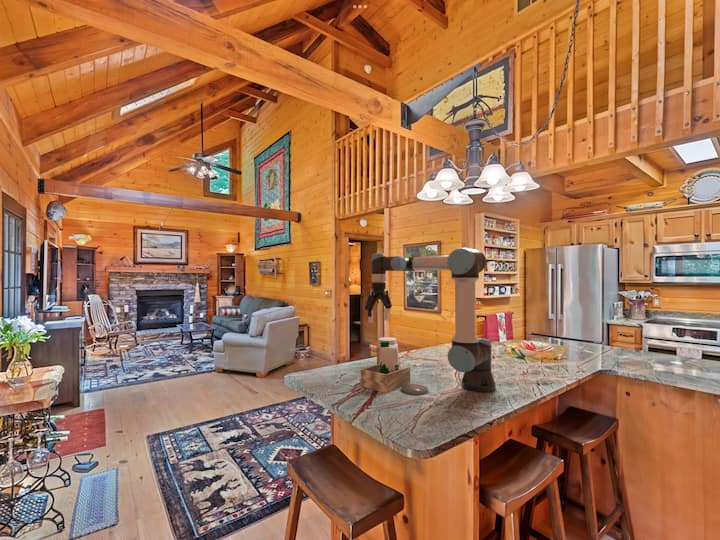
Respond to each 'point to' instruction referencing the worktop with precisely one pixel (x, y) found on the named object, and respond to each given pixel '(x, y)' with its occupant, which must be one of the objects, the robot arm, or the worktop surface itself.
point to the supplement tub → (391, 342)
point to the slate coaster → (414, 389)
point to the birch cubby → (384, 378)
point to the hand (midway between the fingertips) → (378, 321)
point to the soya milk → (388, 358)
